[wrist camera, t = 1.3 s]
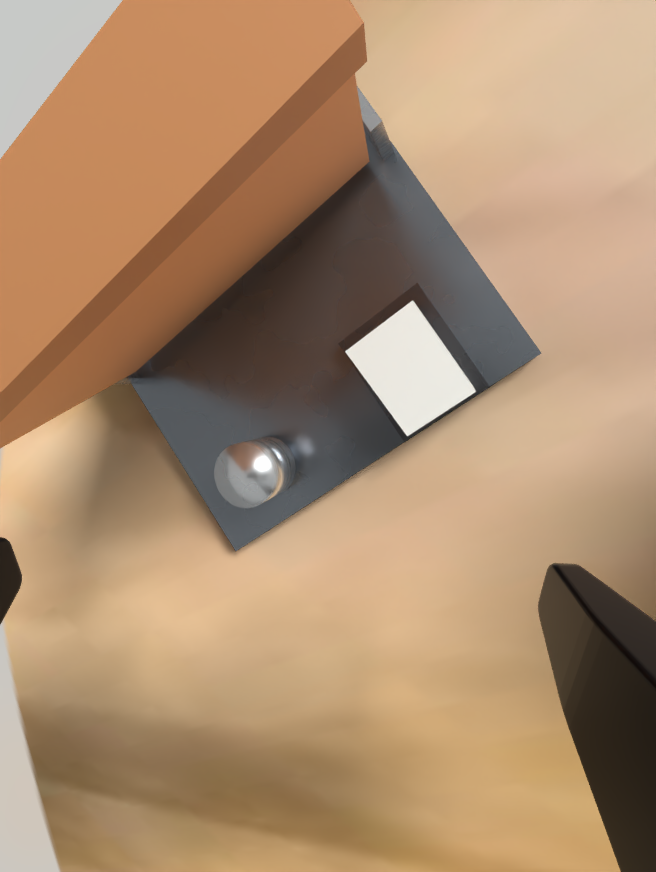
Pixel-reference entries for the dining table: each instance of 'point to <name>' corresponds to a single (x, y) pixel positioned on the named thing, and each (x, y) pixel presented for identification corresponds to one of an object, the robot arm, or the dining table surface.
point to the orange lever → (164, 183)
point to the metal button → (254, 471)
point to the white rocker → (410, 369)
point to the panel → (325, 339)
